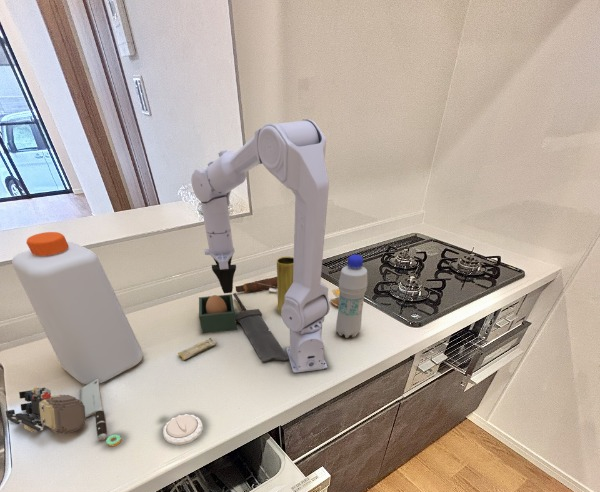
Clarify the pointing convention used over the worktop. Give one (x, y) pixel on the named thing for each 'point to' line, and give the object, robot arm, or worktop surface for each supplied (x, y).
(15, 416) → the toy
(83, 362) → the plastic bottle
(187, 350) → the snack bar
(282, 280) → the vase
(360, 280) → the bottle
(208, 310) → the egg
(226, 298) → the tote
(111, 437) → the donut
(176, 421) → the white round disc
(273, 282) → the hand tool
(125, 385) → the worktop surface
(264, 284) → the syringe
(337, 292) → the shell
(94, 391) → the cleaver
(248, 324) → the flat dark sword
